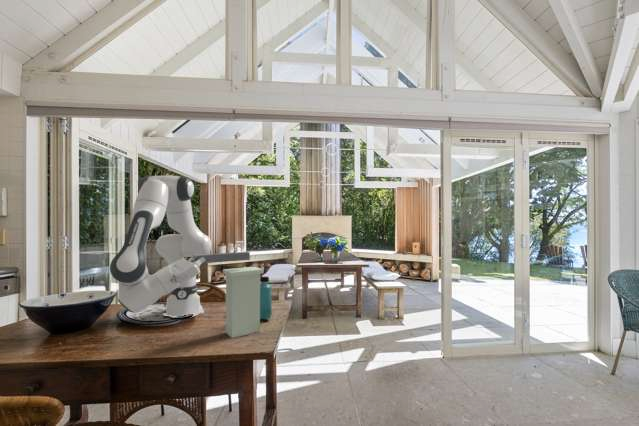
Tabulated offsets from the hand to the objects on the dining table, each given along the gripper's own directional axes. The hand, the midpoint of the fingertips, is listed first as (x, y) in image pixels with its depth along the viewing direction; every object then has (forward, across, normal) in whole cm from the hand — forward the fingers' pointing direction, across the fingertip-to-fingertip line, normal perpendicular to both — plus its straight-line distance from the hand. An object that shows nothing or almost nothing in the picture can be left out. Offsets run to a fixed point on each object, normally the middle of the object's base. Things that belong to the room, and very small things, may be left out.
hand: (202, 257), depth 125 cm
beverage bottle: (+11, +9, +43) cm, 46 cm away
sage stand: (-1, 0, +36) cm, 36 cm away
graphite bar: (+6, 0, +6) cm, 8 cm away
